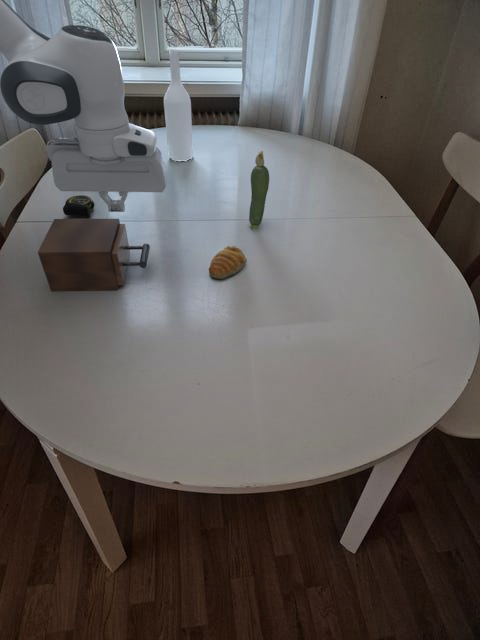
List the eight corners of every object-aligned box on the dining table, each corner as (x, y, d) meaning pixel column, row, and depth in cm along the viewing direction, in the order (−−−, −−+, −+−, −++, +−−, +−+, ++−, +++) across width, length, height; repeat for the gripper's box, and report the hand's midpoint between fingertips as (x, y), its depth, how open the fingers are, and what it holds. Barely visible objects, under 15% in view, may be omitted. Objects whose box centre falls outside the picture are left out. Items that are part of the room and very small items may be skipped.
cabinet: (126, 255, 99) (119, 218, 92) (117, 290, 89) (109, 251, 83) (65, 256, 98) (54, 218, 91) (51, 291, 89) (37, 252, 82)
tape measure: (63, 219, 110) (60, 205, 107) (74, 206, 115) (70, 193, 112) (90, 221, 109) (86, 207, 107) (99, 207, 114) (96, 194, 112)
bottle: (172, 163, 136) (162, 54, 115) (165, 153, 141) (156, 48, 121) (196, 160, 138) (191, 52, 118) (189, 151, 144) (183, 46, 123)
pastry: (227, 285, 92) (227, 270, 89) (200, 275, 94) (200, 261, 91) (248, 263, 98) (249, 249, 95) (223, 254, 100) (223, 240, 97)
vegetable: (250, 222, 111) (254, 144, 97) (266, 224, 110) (272, 146, 97) (246, 231, 108) (250, 151, 94) (263, 233, 107) (269, 153, 93)
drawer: (152, 253, 98) (148, 223, 93) (147, 284, 90) (143, 253, 84) (74, 254, 97) (65, 223, 92) (62, 286, 89) (51, 254, 83)
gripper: (37, 144, 71) (58, 218, 81) (162, 146, 73) (167, 219, 82) (48, 130, 76) (66, 202, 86) (164, 133, 78) (169, 203, 87)
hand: (117, 210), depth 84 cm, fingers closed
